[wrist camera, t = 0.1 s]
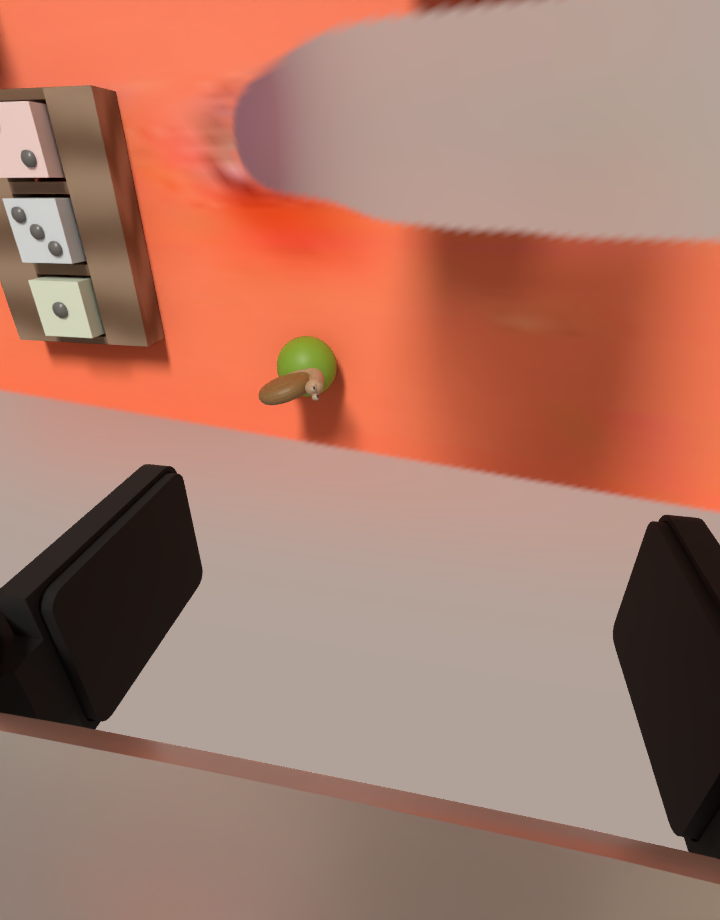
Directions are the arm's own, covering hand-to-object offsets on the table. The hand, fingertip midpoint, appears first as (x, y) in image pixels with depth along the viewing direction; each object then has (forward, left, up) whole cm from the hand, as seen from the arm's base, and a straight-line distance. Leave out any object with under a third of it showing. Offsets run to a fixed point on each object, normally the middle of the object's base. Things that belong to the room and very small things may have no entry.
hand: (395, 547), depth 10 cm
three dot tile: (-3, -35, -35) cm, 49 cm away
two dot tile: (-9, -35, -35) cm, 50 cm away
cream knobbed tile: (+4, -35, -35) cm, 49 cm away
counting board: (-3, -35, -37) cm, 51 cm away
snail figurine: (+8, -12, -37) cm, 40 cm away
